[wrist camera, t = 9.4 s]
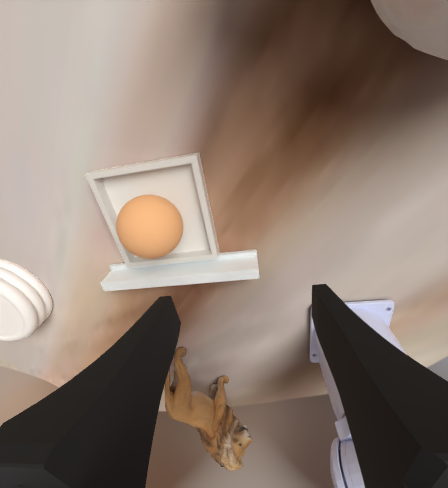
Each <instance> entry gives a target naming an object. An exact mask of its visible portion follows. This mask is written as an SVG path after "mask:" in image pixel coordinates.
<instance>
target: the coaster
mask: <svg viewBox="0 0 448 488" xmlns="http://www.w3.org/2000/svg"><path fill="white" fill-rule="evenodd" d="M52 307H53V303H52V298H51V296H50V293H49V291H48V290H47V288H46V287H45V285H44V284H43V283H42V282H41V281H40V280H39V279H38V278H37V277H36V276H35V275H33V274H32V273H31V272H29V271H28V270H26V269H25V268H23V267H21V266H19V265H17V264H15V263H13V262H11V261H8V260H5V259H1V258H0V340H4V341H14V340H21V339H24V338H26V337H28V336H29V335H31V334H32V333H33V332H34V331H35V329H36V328H37V327H39V326H40V325H41V324H42V322H43V321H44V320H45V319H47V318H48V317H49V315H50V313H51V311H52Z"/></svg>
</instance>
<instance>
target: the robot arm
mask: <svg viewBox="0 0 448 488" xmlns="http://www.w3.org/2000/svg"><path fill="white" fill-rule="evenodd" d="M393 309H394V303H393V301H392V300H375V301H359V302H343V301H342V300H341V299H340V298H339V297H338V296H337V295H336V294H335V293H334V292H333V291H332V290H331V289H330V288H329V287H328V286H327V285H326V284H320V285H312V306H311V316H310V357H309V358H310V361H311V362H313V363H319V364H320V367H321V370H322V374H323V377H324V380H325V383H326V387H327V390H328V393H329V397H330V400H331V403H332V406H333V410H334V412H335V415H336V417H337V419H338V421H337V422H335V426H336V429H337V433H338V436H339V437H338V438H336V439H334V440H333V442H332V446H331V455H330V468H331V475H332V480H333V485H334V488H448V381H446V380H445V379H443V378H441V377H439V376H438V375H437V374H435V373H433V372H432V371H430V370H429V369H427V368H426V367H424V366H423V365H421V364H420V363H418V362H416V361H415V360H413V359H412V358H411V357H409V356H408V355H407V354H406V352H405V351H404V349H403V348H402V346H401V345H400V343H399V342H398V341H397V339H396V338H395V336H394V335H393V333H392V332H391V330H390V329H389V324H390V320H391V316H392V313H393ZM180 325H181V322H180V320H179V317H178V314H177V311H176V309H175V306H174V303H173V300H172V298H171V296H164V297H159V298H158V299H157V300H156V301H155V303H154V304H153V305H152V306H151V307H150V308H149V309H148V310H147V311H146V312H145V313H144V315H143V316H142V317H141V318H140V319H139V320H138V321H137V322H136V323H135V324H134V325H133V326H132V327H131V328H130V329H129V330H128V331H127V332H126V333H125V334H124V335H123V336H122V337H121V338H120V339H119V340H118V341H117V342H116V343H115V344H114V345H113V346H112V347H111V348H110V349H108V350H107V351H106V352H105V353H104V354H103V355H101V356H100V357H99V358H98V359H97V360H96V361H94V362H93V363H92V364H91V365H89V366H88V367H87V368H85V369H84V370H83V371H82V372H80V373H79V374H78V375H76V376H75V377H74V378H72V379H71V380H70V381H68V382H67V383H66V384H64V385H63V386H61V387H60V388H58V389H57V390H56V391H54V392H53V393H51V394H50V395H48V396H47V397H45V398H44V399H42V400H40V401H39V402H37V403H36V404H34V405H33V406H31V407H29V408H28V409H26V410H24V411H23V412H21V413H19V414H18V415H16V416H14V417H13V418H11V419H10V420H8V421H6V422H4V423H3V424H2V425H1V427H0V488H145V484H146V478H147V471H148V464H149V457H150V452H151V446H152V440H153V435H154V429H155V424H156V419H157V414H158V410H159V405H160V400H161V395H162V392H163V388H164V384H165V381H166V378H167V375H168V371H169V368H170V365H171V362H172V359H173V355H174V352H175V349H176V345H177V342H178V337H179V331H180Z"/></svg>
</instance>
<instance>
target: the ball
mask: <svg viewBox="0 0 448 488" xmlns="http://www.w3.org/2000/svg"><path fill="white" fill-rule="evenodd" d="M116 231H117V235H118V238H119V240H120V242H121V244H122V245H123V246H124V247H125V249H127V250H128V251H129V252H130V253H132V254H133V255H135V256H138V257H141V258H146V259H155V258H160V257H163V256H165V255H167V254H169V253H170V252H172V251H173V250H174V249H175V248H176V247H177V245H178V244H179V242H180V240H181V238H182V234H183V220H182V217H181V215H180V213H179V211H178V209H177V208H176V207H175V206H174V205H173V204H172V203H171V202H170V201H169V200H167V199H165V198H163V197H160V196H157V195H141V196H138V197H135V198H133V199H131V200H130V201H128V202H127V203H126V204H125V205H124V206H123V207H122V209H121V210H120V212H119V214H118V217H117V221H116Z"/></svg>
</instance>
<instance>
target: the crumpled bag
mask: <svg viewBox="0 0 448 488" xmlns="http://www.w3.org/2000/svg"><path fill="white" fill-rule="evenodd" d="M371 3H372V5H373V7H374V9H375V11H376V13H377V14H378V16H379V17H380V19H381V20H382V22H383V23H384V24H385V25H386V26H387V27H388V28H389V30H390V31H391V32H392V33H393V34H394V35H395V36H397V37H399V38H401V39H402V40H404V41H406V42H407V43H408V44H409V45H411V46H412V47H413V48H414V49H417V50H419V51H422V52H424V53H427V54H430V55H433V56H436V57H439V58H442V59H445V60H448V0H371Z"/></svg>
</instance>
